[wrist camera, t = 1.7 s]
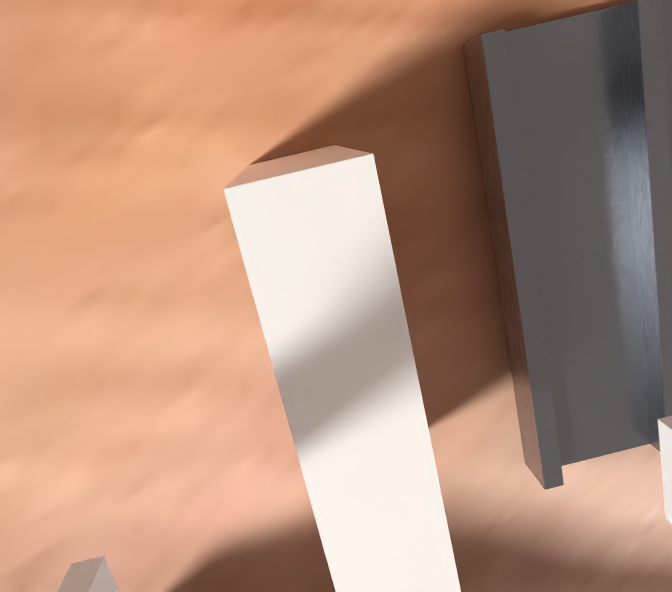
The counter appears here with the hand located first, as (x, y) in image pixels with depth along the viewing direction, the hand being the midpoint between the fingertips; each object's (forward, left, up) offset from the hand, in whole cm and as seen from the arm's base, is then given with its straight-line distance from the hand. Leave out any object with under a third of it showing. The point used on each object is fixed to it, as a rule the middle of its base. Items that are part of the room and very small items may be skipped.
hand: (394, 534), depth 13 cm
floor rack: (0, +19, -16) cm, 25 cm away
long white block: (0, 0, -16) cm, 16 cm away
